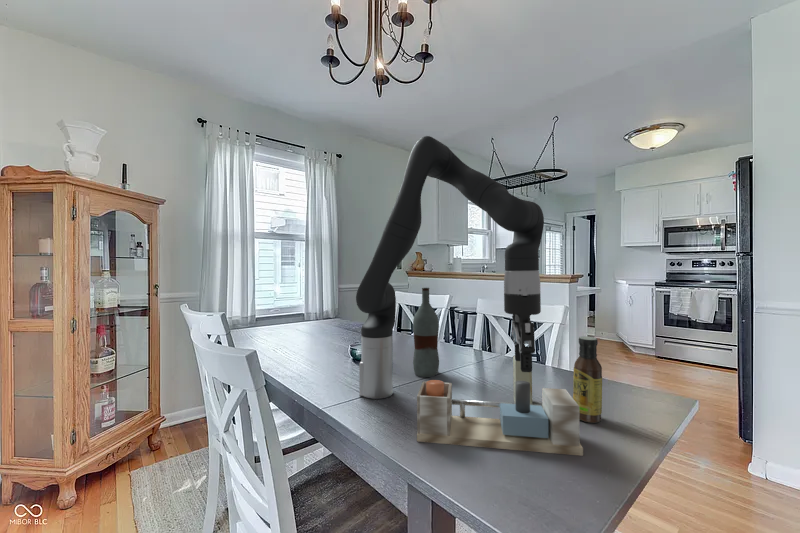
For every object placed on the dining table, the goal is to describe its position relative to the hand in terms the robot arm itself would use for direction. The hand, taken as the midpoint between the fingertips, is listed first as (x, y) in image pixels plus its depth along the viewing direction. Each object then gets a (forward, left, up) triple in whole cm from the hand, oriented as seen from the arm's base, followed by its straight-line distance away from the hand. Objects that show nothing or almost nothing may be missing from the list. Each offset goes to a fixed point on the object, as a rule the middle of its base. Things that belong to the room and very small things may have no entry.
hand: (523, 366), depth 77 cm
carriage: (0, 0, -14) cm, 14 cm away
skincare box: (+3, +21, -16) cm, 26 cm away
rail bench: (-6, 0, -16) cm, 17 cm away
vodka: (-26, +43, -16) cm, 53 cm away
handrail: (-5, +5, -14) cm, 16 cm away
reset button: (-19, 0, -9) cm, 21 cm away
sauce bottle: (+17, +13, -16) cm, 27 cm away
